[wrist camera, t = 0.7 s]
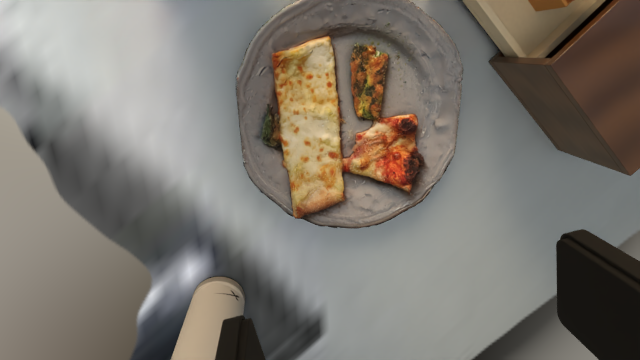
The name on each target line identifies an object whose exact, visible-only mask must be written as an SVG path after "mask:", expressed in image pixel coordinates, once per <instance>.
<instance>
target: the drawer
mask: <svg viewBox="0 0 640 360" xmlns="http://www.w3.org/2000/svg"><path fill="white" fill-rule="evenodd" d="M462 1H463V2H464V3H465V5H466V6H467V7H468V9H469V10H470V11H471V13H472V14H473V15H474V17H475V18H476V19H477V20H478V22H479V23H480V24H481V26H482V27H483V28H484V30H485V31H486V32H487V34H488V35H489V36H490V37H491V39H492V40H493V41H494V43H495V44H496V45H497V47H498V48H499V49H500V51H501V52H502V53H503V54H504V56H505V57H526V58H545V57H546V56H547V55H548V54H549V53H550V52H551V51H552V50H554V49H555V48H556V47H557V46H558V45H559V44H560V43H561V42H562V41H563V40H564V39H565V38H566V37H567V36H568V35H569V34H571V33H572V32H573V31H574V30H575V29H576V28H577V27H578V26H579V25H580V24H581V23H582V22H583V21H584V20H585V19H586V18H588V17H589V16H590V15H591V14H592V13H593V12H594V11H595V10H596V9H597V8H598V7H599V6H600V5H601V4H602V3H603V2H605V1H606V0H574V1H572V2H571V3H570V4H569V5H568V6H567V7H563V8H556V9H550V10H543V11H535V10H534V8H533V7H532V5H531V4H530V2H529V1H528V0H462Z"/></svg>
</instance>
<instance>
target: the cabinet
mask: <svg viewBox="0 0 640 360" xmlns="http://www.w3.org/2000/svg"><path fill="white" fill-rule="evenodd" d="M489 63H490V64H491V65H492V67H493V68H494V69H495V70H496V72H497V73H498V74H499V75H500V77H501V78H502V79H503V81H504V82H505V83H506V84H507V86H508V87H509V88H510V89H511V91H512V92H513V93H514V95H515V96H516V97H517V98H518V100H519V101H520V102H521V103H522V105H523V106H524V107H525V109H526V110H527V111H528V112H529V114H530V115H531V116H532V117H533V119H534V120H535V121H536V123H537V124H538V125H539V126H540V128H541V129H542V130H543V131H544V133H545V134H546V135H547V137H548V138H549V139H550V140H551V142H552V143H553V144H554V145H555V147H556V148H557V149H558V150H560V151H563V152H565V153H568V154H571V155H574V156H577V157H579V158H582V159H585V160H588V161H591V162H593V163H596V164H599V165H602V166H605V167H607V168H610V169H613V170H616V171H618V172H621V173H624V174H627V175H630V176H631V175H632V174H633V173H634V172H636V171H637V170H638V169H639V168H640V0H606V1H605V2H603V3H602V4H601V5H600V6H599V7H598V8H597V9H596V10H595V11H594V12H593V13H592V14H591V15H590V16H589V17H588V18H586V19H585V20H584V21H583V22H582V23H581V24H580V25H579V26H578V27H577V28H576V29H575V30H574V31H573V32H572V33H571V34H569V35H568V36H567V37H566V38H565V39H564V40H563V41H562V42H561V43H560V44H559V45H558V46H557V47H556V48H555V49H554V50H552V51H551V52H550V53H549V54H548V55H547V56H546V57H545V58H526V57H505V56H504V54H503V53H502V52H501V51H499V52H498V53H497V54H496V55H495V56H494V57H493V58H492V59H491V60H490V61H489Z"/></svg>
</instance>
